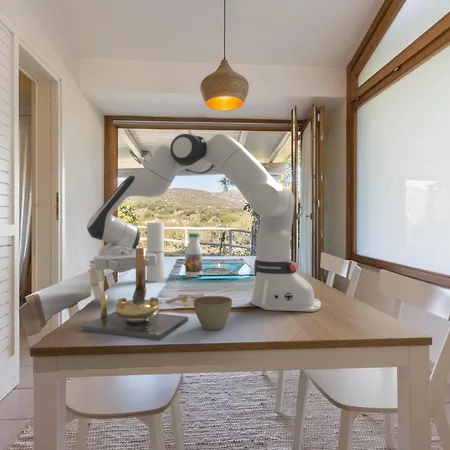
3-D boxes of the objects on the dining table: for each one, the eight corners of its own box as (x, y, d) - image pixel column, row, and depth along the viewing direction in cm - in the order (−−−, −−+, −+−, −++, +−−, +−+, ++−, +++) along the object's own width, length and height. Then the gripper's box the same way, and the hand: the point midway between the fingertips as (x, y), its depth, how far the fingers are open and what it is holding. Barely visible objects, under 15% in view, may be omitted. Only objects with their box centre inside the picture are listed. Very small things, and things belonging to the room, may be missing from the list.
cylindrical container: (160, 282, 154) (160, 222, 153) (144, 281, 155) (144, 222, 154) (166, 279, 161) (166, 222, 160) (150, 278, 162) (150, 222, 161)
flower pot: (231, 321, 100) (231, 295, 100) (233, 333, 90) (233, 304, 90) (194, 321, 99) (194, 295, 99) (192, 333, 89) (192, 304, 89)
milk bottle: (183, 275, 170) (183, 232, 169) (200, 275, 172) (200, 232, 172) (187, 278, 163) (187, 233, 162) (204, 278, 165) (204, 233, 164)
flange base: (188, 320, 100) (188, 293, 100) (160, 340, 85) (160, 307, 84) (119, 313, 107) (119, 287, 106) (82, 330, 91) (82, 300, 91)
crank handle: (158, 317, 91) (158, 255, 91) (112, 319, 89) (112, 256, 89) (159, 298, 111) (159, 247, 110) (122, 299, 109) (121, 248, 108)
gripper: (88, 251, 121) (98, 256, 109) (147, 248, 132) (162, 252, 120) (88, 270, 121) (98, 277, 109) (147, 266, 132) (162, 271, 120)
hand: (132, 264), depth 115 cm, fingers open, 8 cm apart
